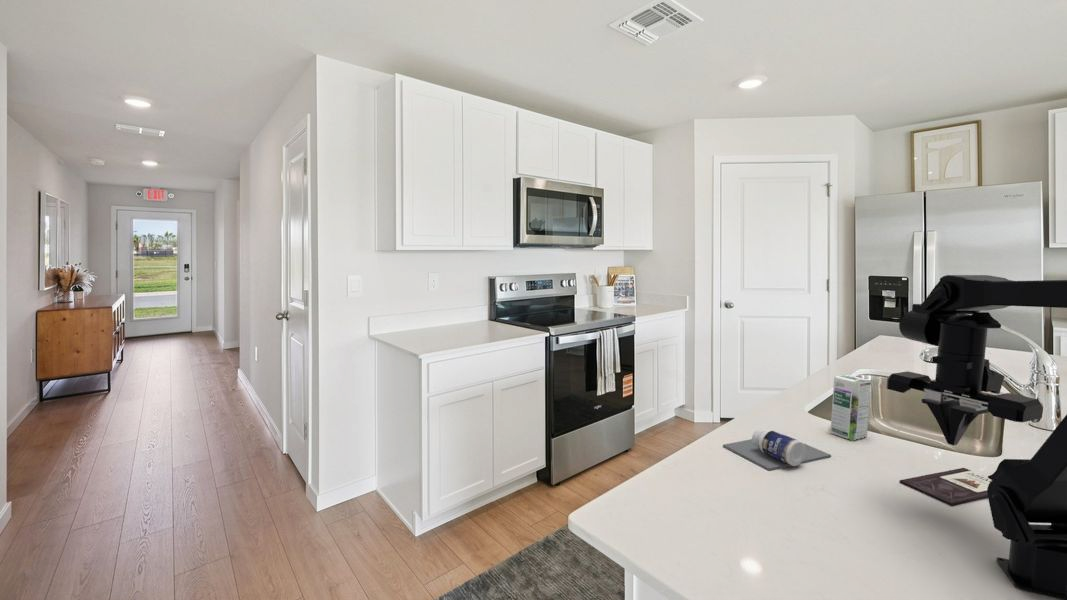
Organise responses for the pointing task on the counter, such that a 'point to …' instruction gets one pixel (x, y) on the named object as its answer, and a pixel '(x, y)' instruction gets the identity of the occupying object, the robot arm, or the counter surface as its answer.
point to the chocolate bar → (951, 486)
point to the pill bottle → (779, 446)
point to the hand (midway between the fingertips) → (952, 444)
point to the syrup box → (850, 407)
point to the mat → (768, 462)
